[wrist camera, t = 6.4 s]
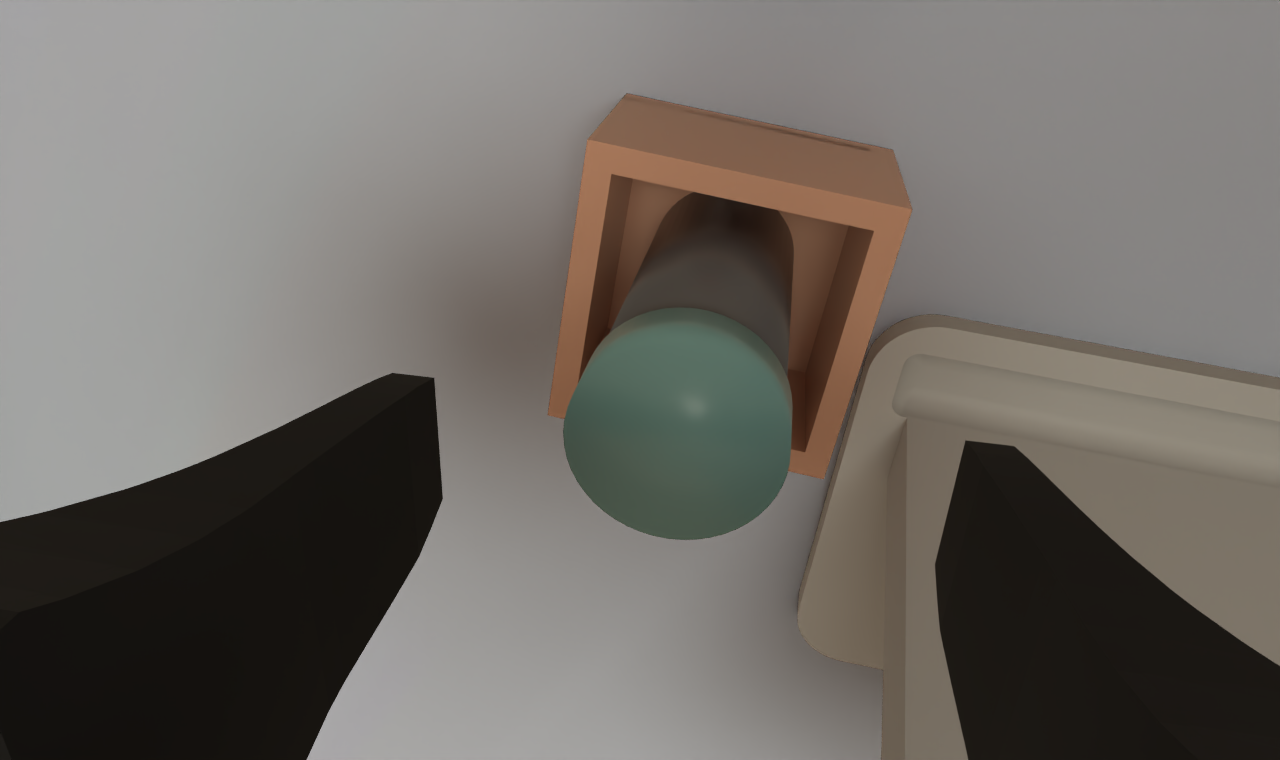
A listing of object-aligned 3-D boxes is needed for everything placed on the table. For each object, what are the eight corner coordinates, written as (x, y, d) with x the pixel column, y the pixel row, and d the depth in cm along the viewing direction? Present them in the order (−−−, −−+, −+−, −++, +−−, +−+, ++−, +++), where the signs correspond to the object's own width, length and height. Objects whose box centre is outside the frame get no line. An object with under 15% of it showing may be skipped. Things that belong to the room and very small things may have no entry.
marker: (788, 330, 21) (776, 554, 14) (645, 314, 21) (561, 522, 14) (807, 188, 19) (805, 357, 12) (654, 173, 20) (565, 329, 12)
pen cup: (892, 149, 19) (912, 209, 16) (820, 384, 22) (823, 479, 18) (626, 93, 19) (587, 139, 16) (588, 331, 22) (547, 415, 19)
